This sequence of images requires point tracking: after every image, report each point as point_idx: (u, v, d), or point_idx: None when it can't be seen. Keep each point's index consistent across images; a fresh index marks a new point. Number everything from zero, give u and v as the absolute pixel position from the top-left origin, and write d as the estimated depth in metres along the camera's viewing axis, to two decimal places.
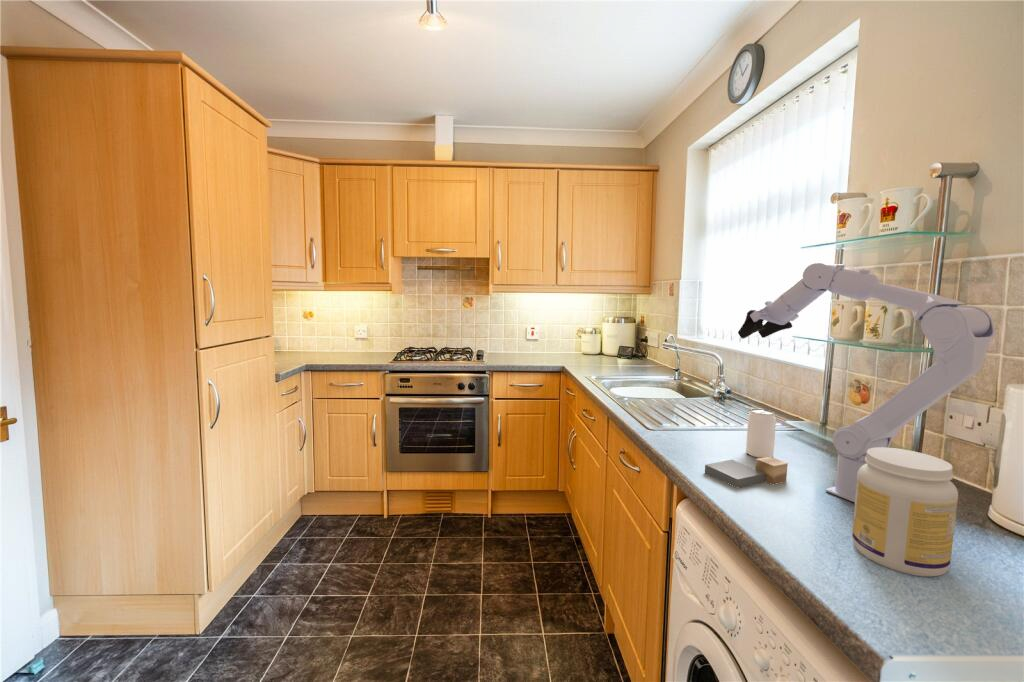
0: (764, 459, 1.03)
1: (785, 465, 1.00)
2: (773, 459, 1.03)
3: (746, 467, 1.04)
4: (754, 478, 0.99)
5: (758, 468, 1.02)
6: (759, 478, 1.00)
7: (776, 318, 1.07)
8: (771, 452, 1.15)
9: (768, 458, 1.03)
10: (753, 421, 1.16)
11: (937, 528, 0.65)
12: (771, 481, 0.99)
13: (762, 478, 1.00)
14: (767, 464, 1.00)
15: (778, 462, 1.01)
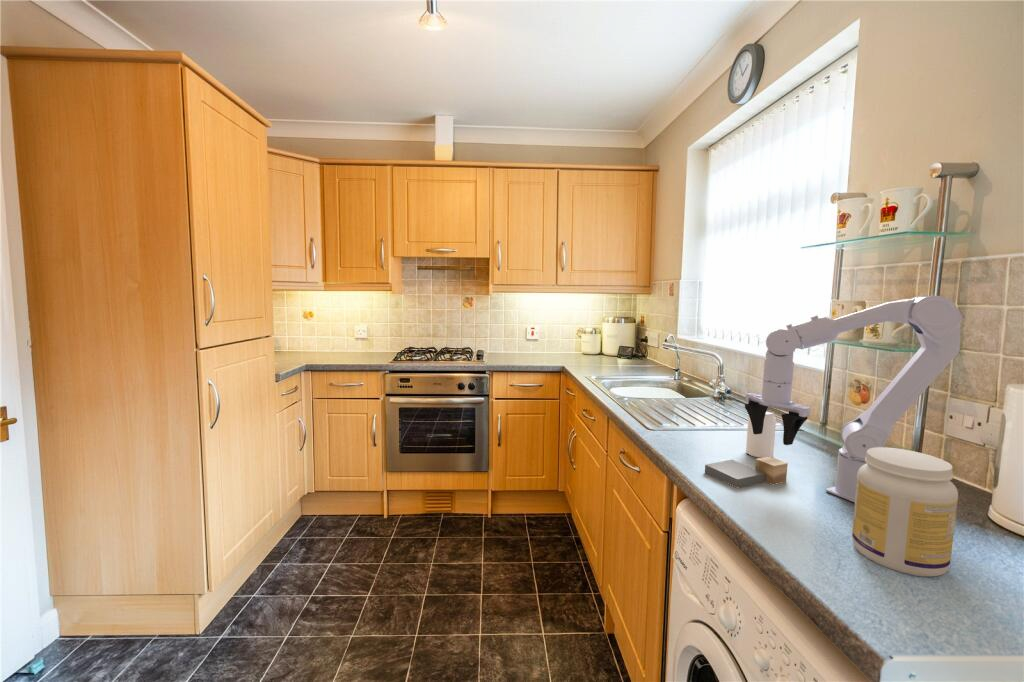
0: (764, 459, 1.03)
1: (785, 465, 1.00)
2: (773, 459, 1.03)
3: (746, 467, 1.04)
4: (754, 478, 0.99)
5: (758, 468, 1.02)
6: (759, 478, 1.00)
7: (790, 400, 0.99)
8: (771, 452, 1.15)
9: (768, 458, 1.03)
10: None
11: (937, 528, 0.65)
12: (771, 481, 0.99)
13: (762, 478, 1.00)
14: (767, 464, 1.00)
15: (778, 462, 1.01)
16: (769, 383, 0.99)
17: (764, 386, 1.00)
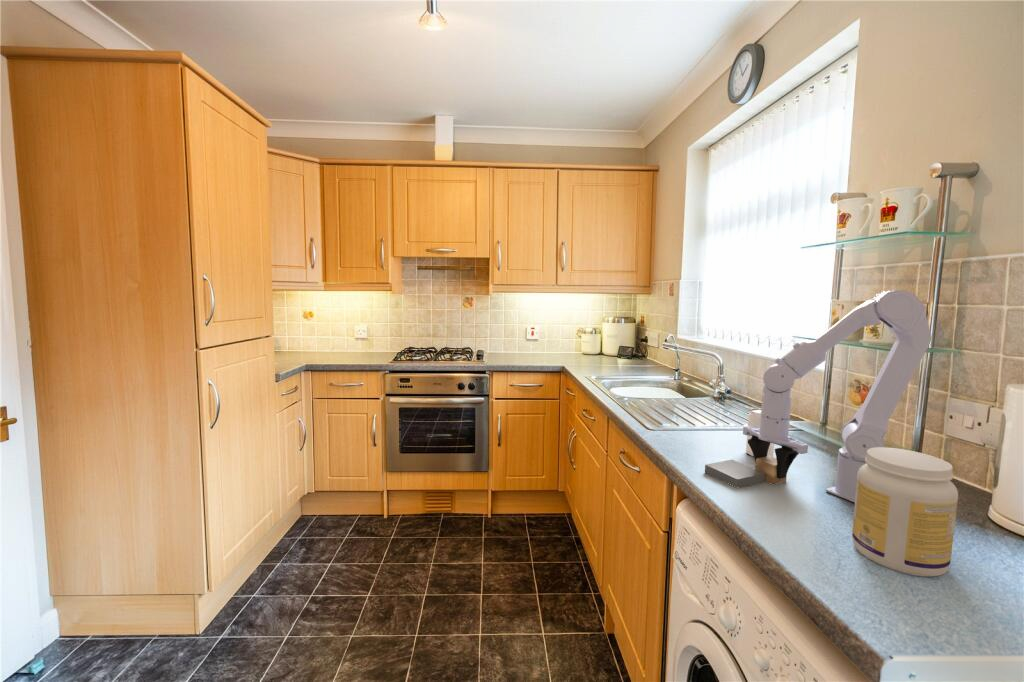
0: (764, 459, 1.03)
1: None
2: (773, 459, 1.03)
3: (746, 467, 1.04)
4: (754, 478, 0.99)
5: (758, 468, 1.02)
6: (759, 478, 1.00)
7: None
8: (771, 452, 1.15)
9: (768, 458, 1.03)
10: (753, 421, 1.16)
11: (937, 528, 0.65)
12: (771, 481, 0.99)
13: (762, 478, 1.00)
14: (767, 463, 1.00)
15: None
16: (767, 419, 0.99)
17: (762, 421, 1.01)
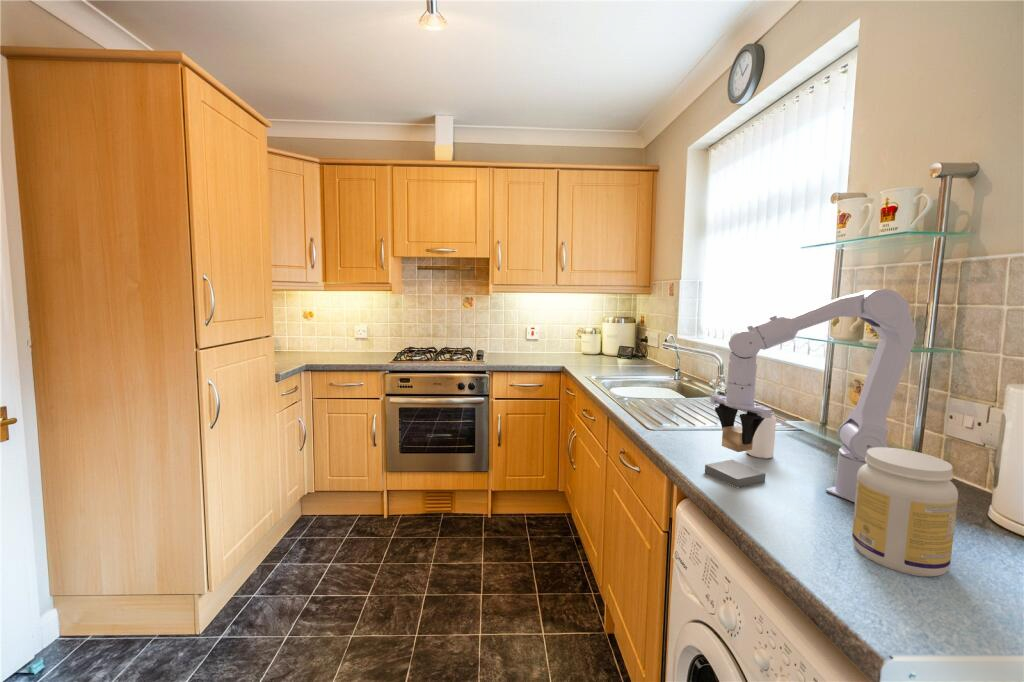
0: (731, 427, 1.03)
1: None
2: (740, 427, 1.03)
3: (746, 467, 1.04)
4: (754, 478, 0.99)
5: (724, 436, 1.02)
6: (759, 478, 1.00)
7: (753, 401, 1.00)
8: (771, 452, 1.15)
9: (735, 426, 1.03)
10: None
11: (937, 528, 0.65)
12: (736, 448, 1.00)
13: (762, 478, 1.00)
14: (733, 431, 1.00)
15: None
16: (733, 385, 0.99)
17: (728, 388, 1.01)
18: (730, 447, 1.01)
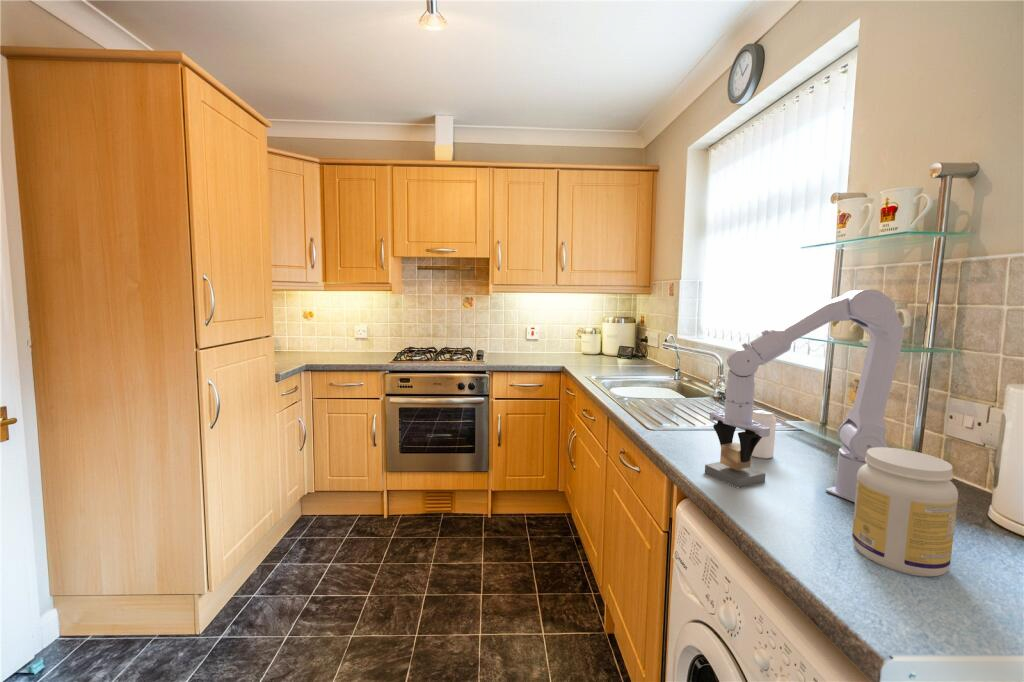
0: (729, 445, 1.03)
1: None
2: (738, 445, 1.03)
3: None
4: (754, 478, 0.99)
5: (723, 454, 1.03)
6: (759, 478, 1.00)
7: None
8: (771, 452, 1.15)
9: (733, 444, 1.04)
10: None
11: (937, 528, 0.65)
12: (735, 466, 1.00)
13: (762, 478, 1.00)
14: (731, 449, 1.01)
15: None
16: (731, 403, 1.00)
17: (726, 406, 1.01)
18: (728, 465, 1.02)
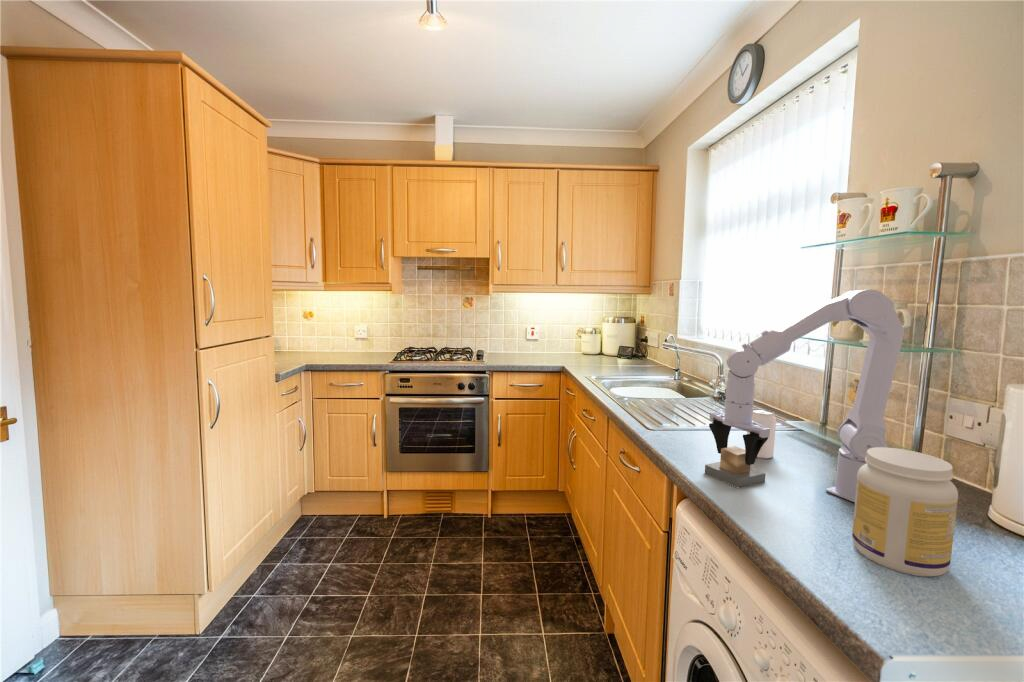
0: (729, 449, 1.03)
1: None
2: (738, 449, 1.03)
3: None
4: (754, 478, 0.99)
5: (723, 457, 1.03)
6: (759, 478, 1.00)
7: None
8: (771, 452, 1.15)
9: (733, 448, 1.04)
10: None
11: (937, 528, 0.65)
12: (735, 470, 1.00)
13: (762, 478, 1.00)
14: (731, 453, 1.01)
15: (742, 451, 1.01)
16: (731, 404, 1.00)
17: (726, 406, 1.01)
18: (728, 468, 1.02)
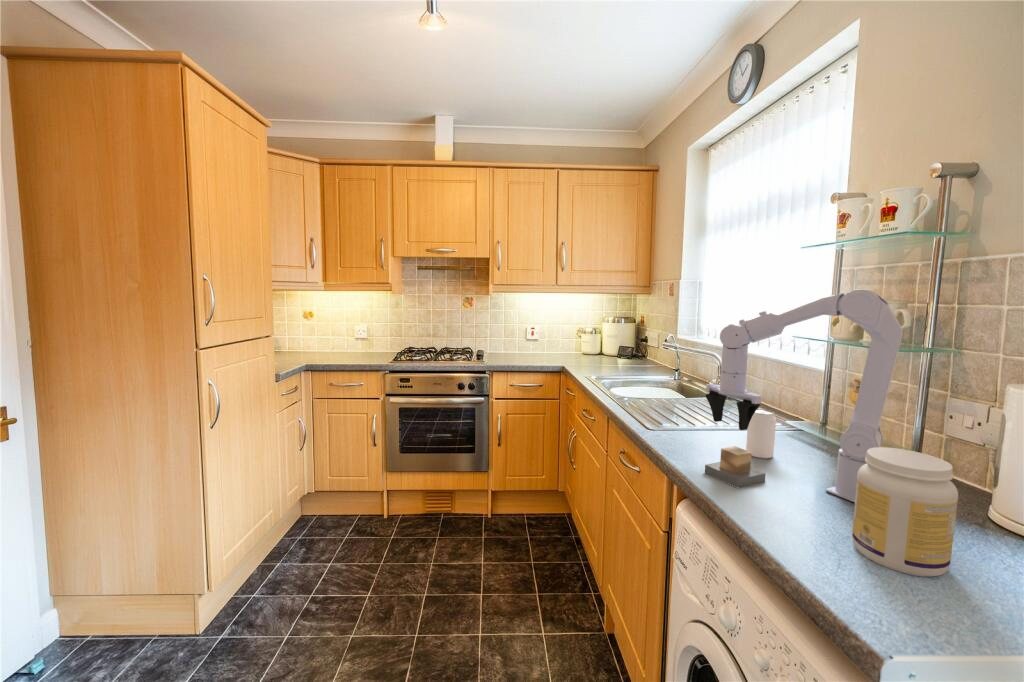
0: (729, 449, 1.03)
1: (749, 454, 1.01)
2: (738, 449, 1.03)
3: None
4: (754, 478, 0.99)
5: (723, 457, 1.03)
6: (759, 478, 1.00)
7: None
8: (771, 452, 1.15)
9: (733, 448, 1.04)
10: (753, 421, 1.16)
11: (937, 528, 0.65)
12: (735, 470, 1.00)
13: (762, 478, 1.00)
14: (731, 453, 1.01)
15: (742, 451, 1.01)
16: (726, 374, 1.08)
17: (721, 377, 1.09)
18: (728, 468, 1.02)
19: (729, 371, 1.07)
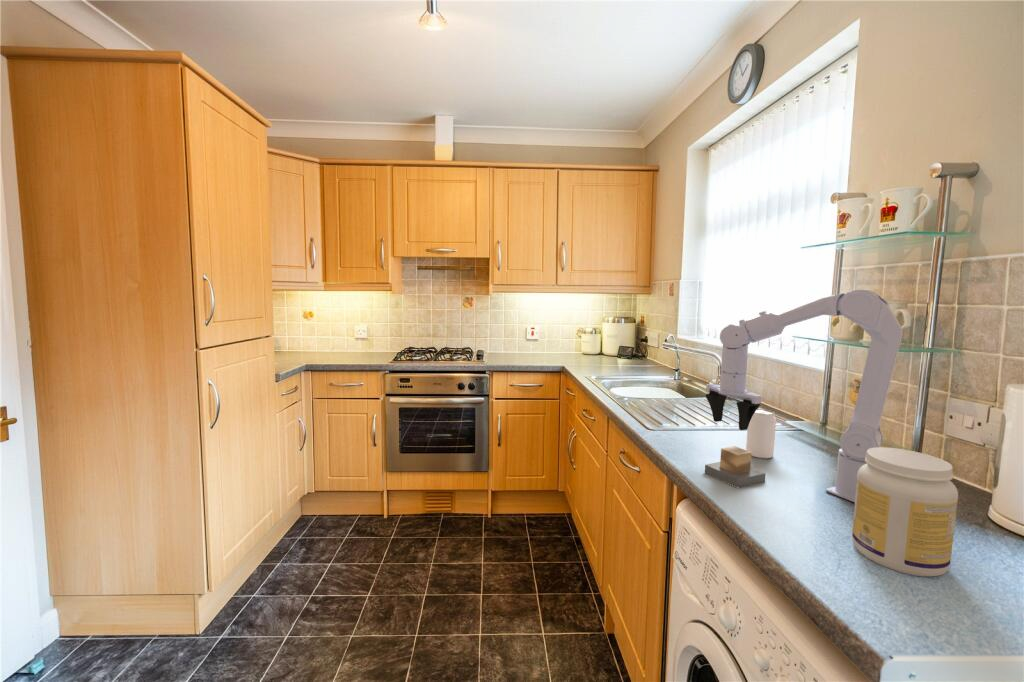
0: (729, 449, 1.03)
1: (749, 454, 1.01)
2: (738, 449, 1.03)
3: None
4: (754, 478, 0.99)
5: (723, 457, 1.03)
6: (759, 478, 1.00)
7: None
8: (771, 452, 1.15)
9: (733, 448, 1.04)
10: (753, 421, 1.16)
11: (937, 528, 0.65)
12: (735, 470, 1.00)
13: (762, 478, 1.00)
14: (731, 453, 1.01)
15: (742, 451, 1.01)
16: (725, 374, 1.08)
17: (721, 377, 1.09)
18: (728, 468, 1.02)
19: (729, 371, 1.07)
